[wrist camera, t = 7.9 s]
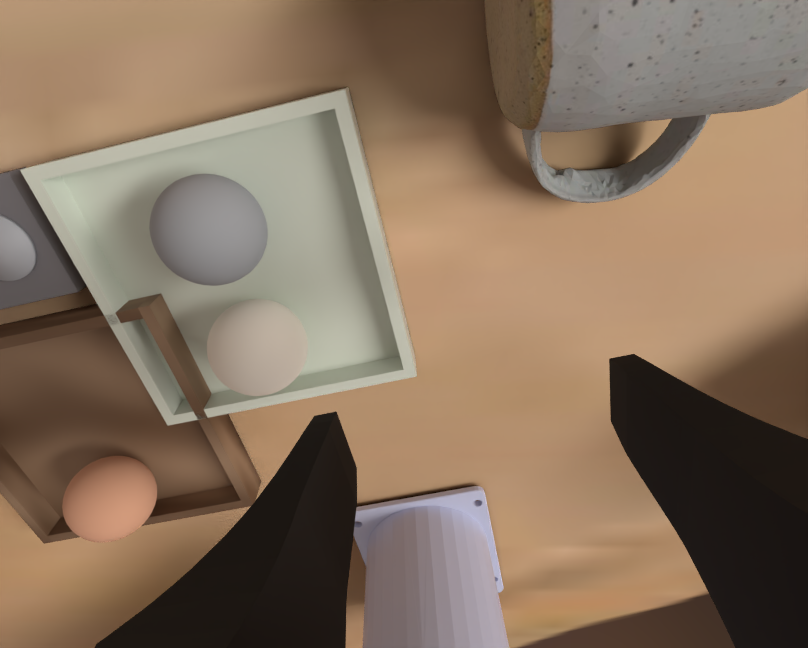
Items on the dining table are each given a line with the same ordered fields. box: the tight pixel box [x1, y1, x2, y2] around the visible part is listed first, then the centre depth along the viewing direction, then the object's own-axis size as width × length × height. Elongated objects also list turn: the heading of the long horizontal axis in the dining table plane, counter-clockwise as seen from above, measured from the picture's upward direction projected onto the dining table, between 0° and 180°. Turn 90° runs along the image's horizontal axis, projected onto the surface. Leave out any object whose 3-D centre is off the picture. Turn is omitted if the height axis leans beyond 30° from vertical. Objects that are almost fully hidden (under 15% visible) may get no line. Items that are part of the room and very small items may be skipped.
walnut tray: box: [0, 293, 261, 543], centre depth 24 cm, size 12×12×2 cm
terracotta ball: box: [62, 456, 157, 542], centre depth 24 cm, size 4×4×4 cm
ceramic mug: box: [484, 0, 808, 203], centre depth 14 cm, size 11×8×8 cm
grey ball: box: [149, 174, 268, 286], centre depth 18 cm, size 4×4×4 cm
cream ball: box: [207, 299, 308, 396], centre depth 20 cm, size 4×4×4 cm
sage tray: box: [20, 87, 417, 426], centre depth 21 cm, size 12×12×2 cm
